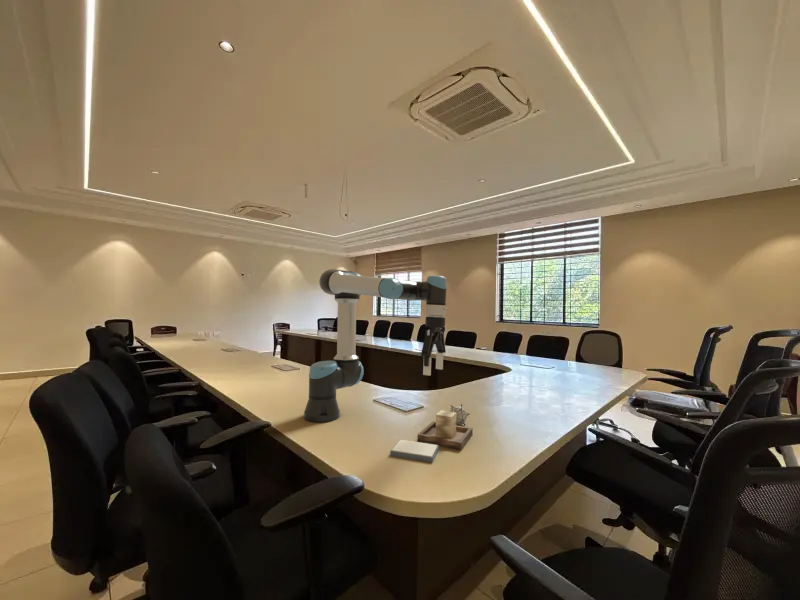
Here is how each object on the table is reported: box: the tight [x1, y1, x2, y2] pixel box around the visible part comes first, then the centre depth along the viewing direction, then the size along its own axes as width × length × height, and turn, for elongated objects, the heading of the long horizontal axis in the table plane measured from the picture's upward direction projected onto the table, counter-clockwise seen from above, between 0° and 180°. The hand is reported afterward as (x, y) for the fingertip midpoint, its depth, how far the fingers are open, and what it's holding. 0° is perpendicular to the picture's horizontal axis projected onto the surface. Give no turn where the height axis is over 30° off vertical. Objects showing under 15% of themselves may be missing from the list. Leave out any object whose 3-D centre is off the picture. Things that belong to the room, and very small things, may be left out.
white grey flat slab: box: [389, 439, 440, 463], centre depth 111 cm, size 14×10×2 cm
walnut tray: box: [416, 420, 474, 451], centre depth 124 cm, size 16×16×2 cm
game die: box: [450, 404, 471, 426], centre depth 138 cm, size 9×8×10 cm
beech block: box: [435, 409, 457, 440], centre depth 124 cm, size 6×6×8 cm
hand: (433, 372), depth 128 cm, fingers open, 13 cm apart
